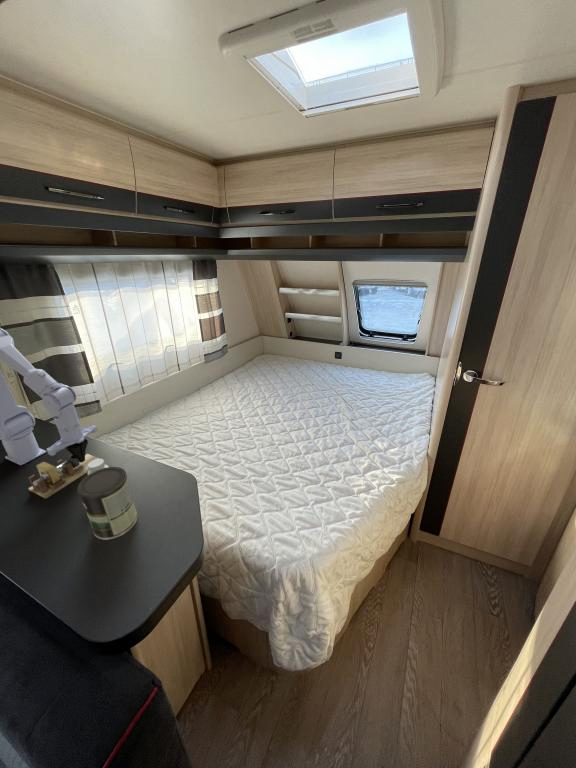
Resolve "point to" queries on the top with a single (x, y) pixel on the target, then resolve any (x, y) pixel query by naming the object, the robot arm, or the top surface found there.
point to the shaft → (60, 468)
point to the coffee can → (108, 502)
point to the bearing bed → (66, 478)
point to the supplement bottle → (96, 465)
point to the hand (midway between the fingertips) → (81, 460)
